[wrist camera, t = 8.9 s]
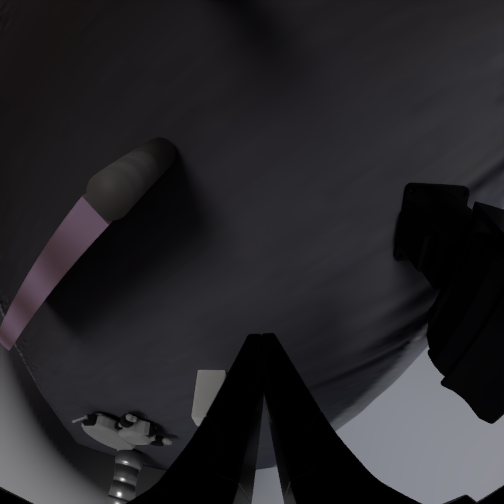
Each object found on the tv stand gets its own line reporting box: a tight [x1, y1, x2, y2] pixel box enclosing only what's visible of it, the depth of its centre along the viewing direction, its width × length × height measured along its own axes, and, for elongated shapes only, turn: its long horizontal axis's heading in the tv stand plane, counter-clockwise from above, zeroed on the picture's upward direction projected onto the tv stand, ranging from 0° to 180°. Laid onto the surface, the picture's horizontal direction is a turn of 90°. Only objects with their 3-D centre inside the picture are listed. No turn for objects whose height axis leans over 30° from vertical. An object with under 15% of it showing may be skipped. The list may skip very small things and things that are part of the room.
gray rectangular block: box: [192, 370, 226, 426], centre depth 27 cm, size 3×2×6 cm
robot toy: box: [72, 413, 172, 451], centre depth 38 cm, size 12×4×15 cm
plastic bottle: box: [107, 450, 143, 504], centre depth 41 cm, size 6×7×20 cm
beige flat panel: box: [0, 138, 176, 350], centre depth 17 cm, size 22×2×8 cm, turn 127°
